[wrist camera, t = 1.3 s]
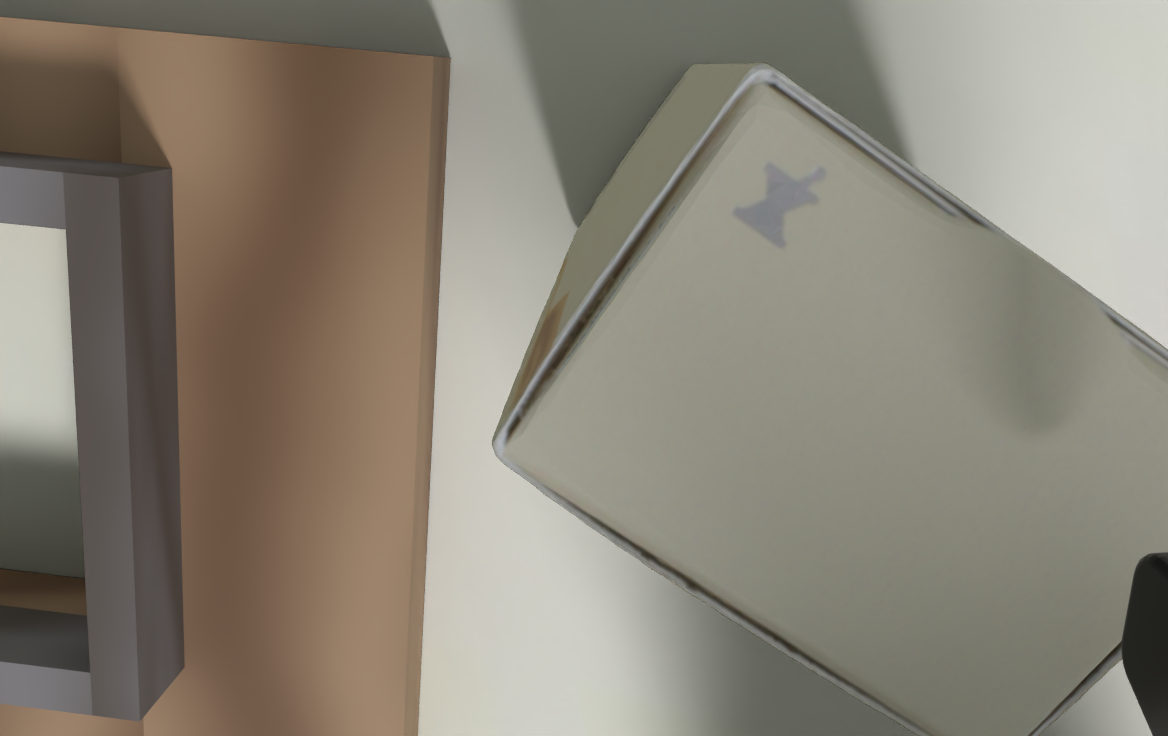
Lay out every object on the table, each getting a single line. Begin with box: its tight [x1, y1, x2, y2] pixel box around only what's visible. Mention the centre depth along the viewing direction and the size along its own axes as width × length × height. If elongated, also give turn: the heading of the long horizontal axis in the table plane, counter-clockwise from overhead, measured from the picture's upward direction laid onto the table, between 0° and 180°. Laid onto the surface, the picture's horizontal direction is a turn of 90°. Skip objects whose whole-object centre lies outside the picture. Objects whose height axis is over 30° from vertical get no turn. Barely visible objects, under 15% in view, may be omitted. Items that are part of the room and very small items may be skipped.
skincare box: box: [492, 63, 1168, 736], centre depth 15 cm, size 6×4×12 cm
